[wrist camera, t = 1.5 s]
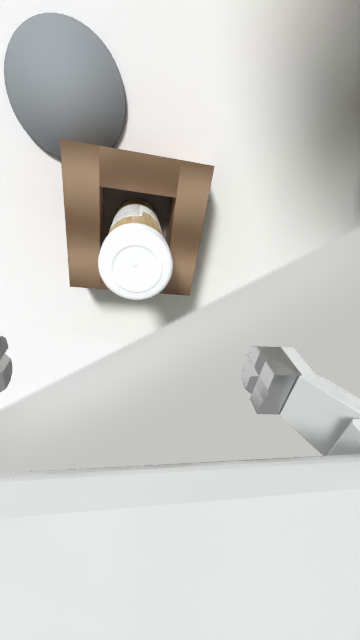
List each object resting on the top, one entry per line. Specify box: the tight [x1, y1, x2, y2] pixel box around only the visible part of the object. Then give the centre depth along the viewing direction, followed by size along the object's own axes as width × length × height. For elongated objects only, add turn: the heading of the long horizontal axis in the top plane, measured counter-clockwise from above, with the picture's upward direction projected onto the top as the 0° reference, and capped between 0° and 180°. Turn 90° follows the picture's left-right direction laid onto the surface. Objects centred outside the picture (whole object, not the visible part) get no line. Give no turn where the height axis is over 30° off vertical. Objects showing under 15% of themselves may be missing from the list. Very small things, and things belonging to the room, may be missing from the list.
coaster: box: [4, 13, 125, 158], centre depth 21 cm, size 9×9×1 cm
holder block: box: [60, 139, 214, 295], centre depth 25 cm, size 12×12×4 cm
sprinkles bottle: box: [98, 199, 173, 300], centre depth 21 cm, size 5×5×13 cm
